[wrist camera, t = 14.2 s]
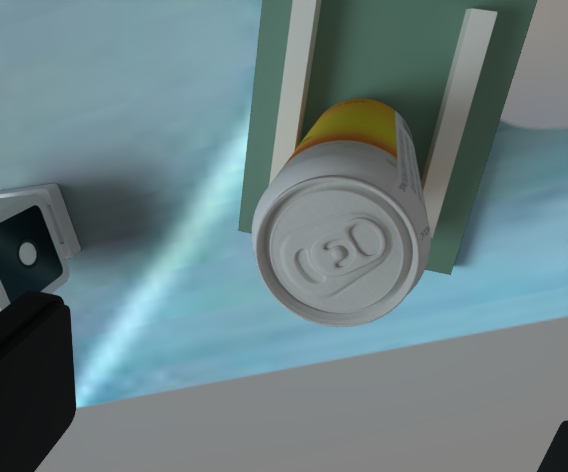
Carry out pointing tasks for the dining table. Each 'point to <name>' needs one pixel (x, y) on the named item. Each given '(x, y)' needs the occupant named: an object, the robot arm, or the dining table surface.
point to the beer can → (345, 218)
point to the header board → (389, 89)
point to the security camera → (34, 241)
